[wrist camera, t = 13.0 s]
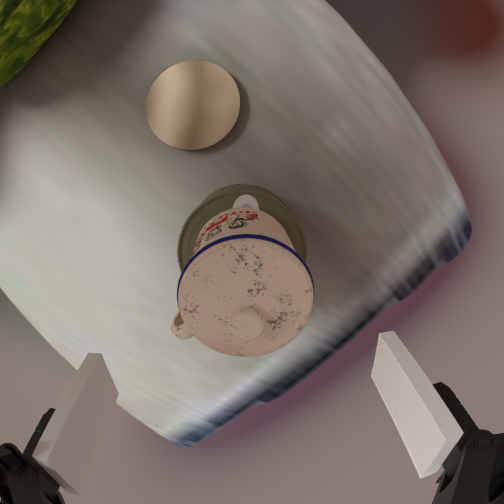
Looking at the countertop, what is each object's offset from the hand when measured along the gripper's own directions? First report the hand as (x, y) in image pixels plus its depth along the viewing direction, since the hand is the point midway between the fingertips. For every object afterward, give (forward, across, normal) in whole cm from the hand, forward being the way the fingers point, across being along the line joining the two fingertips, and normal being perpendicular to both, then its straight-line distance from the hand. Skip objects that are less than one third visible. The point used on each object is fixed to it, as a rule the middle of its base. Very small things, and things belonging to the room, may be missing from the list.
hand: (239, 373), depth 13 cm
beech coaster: (+23, -4, +15) cm, 27 cm away
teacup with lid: (+16, -1, -1) cm, 16 cm away
